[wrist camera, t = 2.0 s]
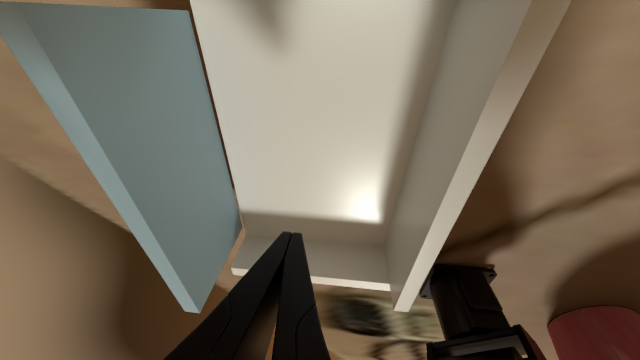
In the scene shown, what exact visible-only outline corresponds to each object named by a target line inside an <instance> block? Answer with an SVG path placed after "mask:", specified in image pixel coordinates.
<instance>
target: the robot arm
mask: <svg viewBox="0 0 640 360" xmlns="http://www.w3.org/2000/svg"><path fill="white" fill-rule="evenodd" d="M496 276H497V274H496V272H495V270H492V269H483V268H472V267H462V266H451V265H441V264H437V265H434V266H433V268H432V270H431V272H430V274H429V276H428V278H427V279H426V281H425V283H424V285H423V287H422V289H421V291H420V293H419V294H420V297H421V298H425V299H433V302H434V305H435V308H436V312H437V315H438V318H439V321H440V325H441V328H442V331H443V334H444V338H445V341H440V342H435V343H432V342H429V343H426V346H427V360H546V358H545V356H544V355H543V353H542V352H541V350H540V348H539V347H538V345H537V344H536V342H535V341H534V340H533V339H532V338H531V336H530V335H529V334H528V333H527V332H526V331H525V330H524V328H523V327H522V326H521V325H520V324H518V325H513V327H510V325H509V323H508V321H507V319H506V317H505V315H504V314H503V312H502V310H503V309H502V307H501V305H500V303H499V301H498V299H497V297H496V296H495V294H494V292H493V290H492V288H491V286H490V283H491V282H492V280H493V279H494V278H495V277H496ZM276 320H277V322H276ZM275 323H276V330H275V338H274V346H273V354H272V360H331V359H330V356H329V353H328V349H327V346H326V343H325V340H324V336H323V333H322V330H321V325H320V321H319V317H318V312H317V307H316V302H315V297H314V292H313V287H312V282H311V277H310V272H309V267H308V261H307V256H306V251H305V246H304V241H303V236H302V233H299V232H293V233H292V232H288V231H283V232H282V233H281V234H280V235H279V236H278V237H277V239H276V240H275V241H274V242H273V243H272V244H271V245H270V247H269V248H268V249H267V250H266V251H265V252H264V253H263V254H262V256H261V257H260V258H259V259H258V260H257V261H256V262H255V264H254V265H253V266H252V267H251V268H250V269H249V270H248V272H247V273H246V274H245V275H244V276H243V277H242V278H241V280H240V281H239V282H238V283H237V284H236V285H235V286H234V288H233V289H232V290H231V291H230V292H229V293H228V296H226V297H225V298H224V299H223V300H222V301H221V302H220V303H219V305H218V306H217V307H216V308H215V309H214V310H213V311H212V312H211V313H210V314H209V316H207V317H206V318H205V319H204V320H203V322H201V323H200V324H199V325H198V326H197V327H196V329H194V330H193V331H192V332H191V333H190V334H189V335H188V336H187V337H186V338H185V339H184V340H183V341H182V342H181V343H180V344H179V345H178V346H177V347H175V348H174V349H173V350H172V351H171V352H170V353H169V354H168V355H167V356H166V357H165V358H164V359H163V360H265V358H266V354H267V351H268V348H269V344H270V340H271V337H272V334H273V330H274V327H275ZM525 354H527V356H528V358H522V356H521V355H525Z"/></svg>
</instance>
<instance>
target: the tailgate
mask: <svg viewBox="0 0 640 360" xmlns="http://www.w3.org/2000/svg"><path fill="white" fill-rule="evenodd" d="M0 35H1V36H2V38H3V39H4V41H5V42H6V44H7V45H8V47H9V48H10V50H11V51H12V53H13V54H14V56H15V57H16V59H17V60H18V62H19V63H20V65H21V66H22V68H23V69H24V71H25V72H26V74H27V75H28V77H29V78H30V80H31V81H32V83H33V84H34V86H35V87H36V89H37V90H38V92H39V93H40V95H41V96H42V98H43V99H44V101H45V102H46V104H47V105H48V107H49V108H50V110H51V111H52V113H53V114H54V116H55V117H56V119H57V120H58V122H59V123H60V125H61V126H62V128H63V129H64V131H65V132H66V134H67V135H68V137H69V138H70V140H71V141H72V143H73V144H74V146H75V147H76V149H77V150H78V152H79V153H80V155H81V156H82V158H83V159H84V161H85V162H86V164H87V165H88V167H89V168H90V170H91V171H92V173H93V174H94V176H95V177H96V179H97V180H98V182H99V183H100V185H101V186H102V188H103V189H104V191H105V192H106V194H107V195H108V197H109V198H110V200H111V201H112V203H113V204H114V206H115V207H116V209H117V210H118V212H119V213H120V215H121V216H122V218H123V219H124V221H125V222H126V224H127V225H128V227H129V228H130V230H131V231H132V233H133V234H134V236H135V237H136V239H137V240H138V242H139V243H140V245H141V246H142V248H143V249H144V251H145V252H146V254H147V255H148V257H149V258H150V260H151V261H152V263H153V264H154V265H155V267H156V269H157V270H158V272H159V273H160V275H161V276H162V277H163V279H164V281H165V282H166V283H167V285H168V286H169V288H170V289H171V291H172V293H173V294H174V295H175V297H176V299H177V300H178V301H179V303H180V305H181V306H182V308H183V309H184V311H187V312H195V313H200V312H201V310H202V308H203V305H204V304H205V302H206V300H207V298H208V296H209V294H210V292H211V289H212V287H213V285H214V283H215V281H216V279H217V277H218V275H219V273H220V271H221V269H222V267H223V265H224V263H225V261H226V259H227V257H228V255H229V253H230V251H231V249H232V247H233V245H234V243H235V241H236V239H237V237H238V235H239V233H240V231H241V229H242V224H241V220H240V216H239V212H238V208H237V204H236V200H235V196H234V192H233V188H232V184H231V180H230V176H229V172H228V168H227V164H226V160H225V156H224V152H223V148H222V143H221V139H220V135H219V131H218V127H217V123H216V119H215V115H214V111H213V107H212V103H211V99H210V95H209V91H208V87H207V83H206V79H205V75H204V71H203V67H202V63H201V59H200V55H199V51H198V47H197V43H196V39H195V35H194V31H193V27H192V23H191V19H190V15H189V11H187V10H167V9H147V8H126V7H106V6H86V5H65V4H45V3H25V2H0Z"/></svg>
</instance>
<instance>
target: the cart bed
mask: <svg viewBox="0 0 640 360" xmlns="http://www.w3.org/2000/svg"><path fill="white" fill-rule="evenodd" d="M571 1H572V0H190V4H191V8H192V12H193V16H194V20H195V24H196V29H197V33H198V37H199V41H200V45H201V49H202V53H203V58H204V62H205V66H206V70H207V74H208V78H209V82H210V87H211V91H212V95H213V99H214V103H215V107H216V112H217V116H218V120H219V124H220V128H221V132H222V136H223V141H224V145H225V149H226V153H227V157H228V161H229V165H230V170H231V174H232V178H233V182H234V186H235V190H236V194H237V199H238V203H239V207H240V211H241V215H242V219H243V223H244V228H245V232H246V236H245V239H244V241H243V243H242V245H241V247H240V249H239V252H238V254H237V256H236V258H235V260H234V262H233V265H232V267H231V269H232V272H233V275H240V276H244V275H245V274H246V273H247V272H248V270H249V269H250V268H251V267H252V266H253V265H254V264H255V262H256V261H257V260H258V259H259V258H260V257H261V256H262V254H263V253H264V252H265V251H266V250H267V249H268V248H269V247H270V245H271V244H272V243H273V242H274V241H275V240H276V239H277V237H278V236H279V235H280V234H281V233H282V232H283V231H288V232H292V233H293V232H299V233H302V236H303V241H304V246H305V251H306V256H307V261H308V267H309V272H310V277H311V282H312V283H317V284H327V285H337V286H346V287H356V288H365V289H375V290H385V291H391V298H392V304H393V310H394V311H403V312H408V311H409V309H410V307H411V305H412V303H413V301H414V299H415V298H416V296H417V294H418V292H419V290H420V288H421V286H422V284H423V282H424V280H425V279H426V277H427V275H428V273H429V271H430V269H431V267H432V265H433V263H434V261H435V260H436V258H437V256H438V254H439V252H440V250H441V248H442V246H443V244H444V243H445V241H446V239H447V237H448V235H449V233H450V231H451V229H452V227H453V225H454V224H455V222H456V220H457V218H458V216H459V214H460V212H461V210H462V208H463V206H464V205H465V203H466V201H467V199H468V197H469V195H470V193H471V191H472V189H473V187H474V186H475V184H476V182H477V180H478V178H479V176H480V174H481V172H482V170H483V168H484V167H485V165H486V163H487V161H488V159H489V157H490V155H491V153H492V151H493V150H494V148H495V146H496V144H497V142H498V140H499V138H500V136H501V134H502V132H503V131H504V129H505V127H506V125H507V123H508V121H509V119H510V117H511V115H512V113H513V112H514V110H515V108H516V106H517V104H518V102H519V100H520V98H521V96H522V94H523V93H524V91H525V89H526V87H527V85H528V83H529V81H530V79H531V77H532V76H533V74H534V72H535V70H536V68H537V66H538V64H539V62H540V60H541V58H542V57H543V55H544V53H545V51H546V49H547V47H548V45H549V43H550V41H551V39H552V38H553V36H554V34H555V32H556V30H557V28H558V26H559V24H560V22H561V20H562V19H563V17H564V15H565V13H566V11H567V9H568V7H569V5H570V3H571Z"/></svg>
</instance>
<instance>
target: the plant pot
mask: <svg viewBox="0 0 640 360" xmlns="http://www.w3.org/2000/svg"><path fill="white" fill-rule="evenodd" d="M548 332H549V335H550V337H551V340H552V342H553V345H554V347H555V350H556V353H557V355H558V358H559V360H640V315H639V314H637V313H636V312H634V311H633V310H630V309H628V308H624V307H617V306H596V307H588V308H582V309H578V310H574V311H571V312H568V313H565V314H563V315H561V316H559V317H557V318H555V319H554V320H553V321H551V322H550V324H549V325H548Z"/></svg>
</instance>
